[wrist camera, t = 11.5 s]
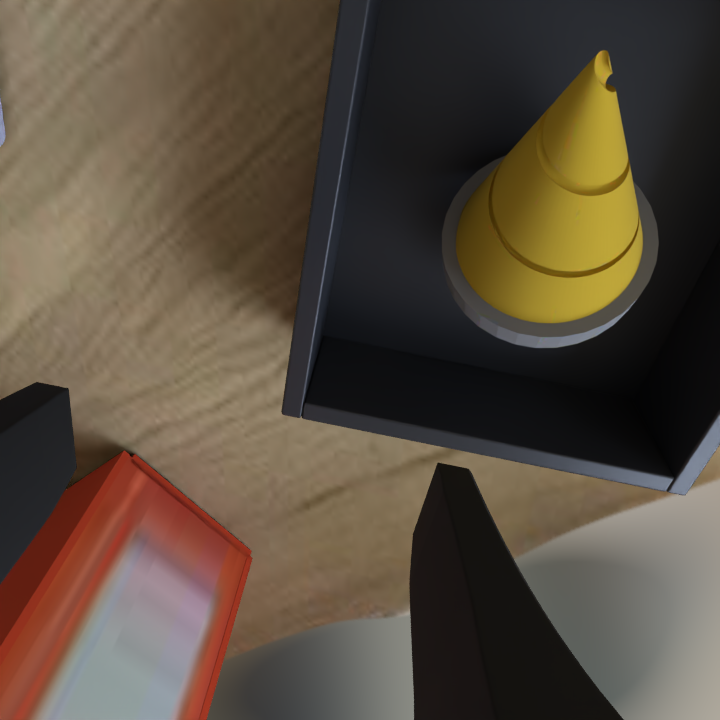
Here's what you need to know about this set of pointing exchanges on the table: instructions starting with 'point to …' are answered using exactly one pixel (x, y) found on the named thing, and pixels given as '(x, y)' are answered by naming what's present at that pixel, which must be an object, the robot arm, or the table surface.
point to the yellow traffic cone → (554, 226)
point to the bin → (431, 203)
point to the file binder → (119, 604)
